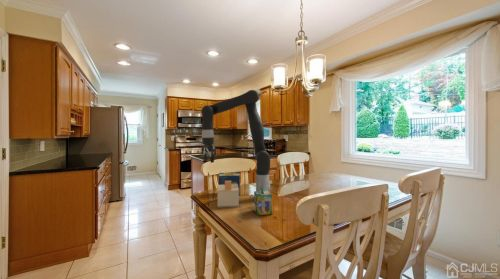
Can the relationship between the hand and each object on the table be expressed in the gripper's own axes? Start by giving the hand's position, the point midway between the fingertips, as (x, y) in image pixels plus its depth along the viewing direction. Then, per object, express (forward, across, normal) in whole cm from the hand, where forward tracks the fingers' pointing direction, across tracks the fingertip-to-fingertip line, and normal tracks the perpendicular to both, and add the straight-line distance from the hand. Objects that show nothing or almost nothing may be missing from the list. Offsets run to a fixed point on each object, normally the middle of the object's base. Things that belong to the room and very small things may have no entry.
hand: (208, 161), depth 140 cm
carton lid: (+17, -9, -8) cm, 21 cm away
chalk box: (+28, -34, -15) cm, 47 cm away
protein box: (+28, +7, -20) cm, 35 cm away
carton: (+27, -8, -8) cm, 30 cm away
